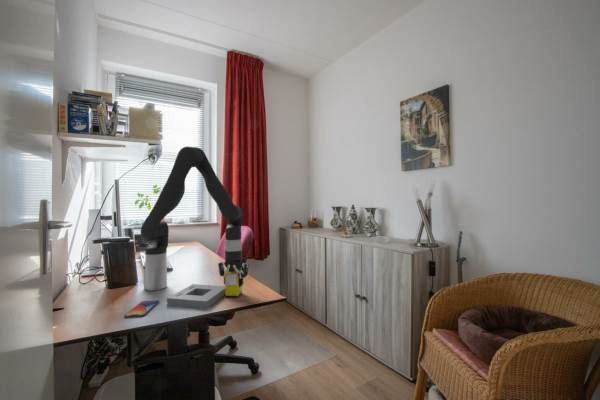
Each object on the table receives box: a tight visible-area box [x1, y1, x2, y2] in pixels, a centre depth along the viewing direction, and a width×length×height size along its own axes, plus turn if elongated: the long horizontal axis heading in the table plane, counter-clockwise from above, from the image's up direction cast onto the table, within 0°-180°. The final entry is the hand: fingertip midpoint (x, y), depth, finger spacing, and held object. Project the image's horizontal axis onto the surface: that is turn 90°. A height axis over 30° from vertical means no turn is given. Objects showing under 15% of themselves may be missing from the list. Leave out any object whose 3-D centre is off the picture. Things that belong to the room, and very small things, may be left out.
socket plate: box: [166, 283, 225, 310], centre depth 117 cm, size 18×18×3 cm
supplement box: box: [224, 271, 243, 298], centre depth 121 cm, size 6×6×11 cm
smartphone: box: [123, 300, 160, 319], centre depth 107 cm, size 7×15×1 cm, turn 7°
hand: (233, 285), depth 121 cm, fingers closed on supplement box, 6 cm apart
